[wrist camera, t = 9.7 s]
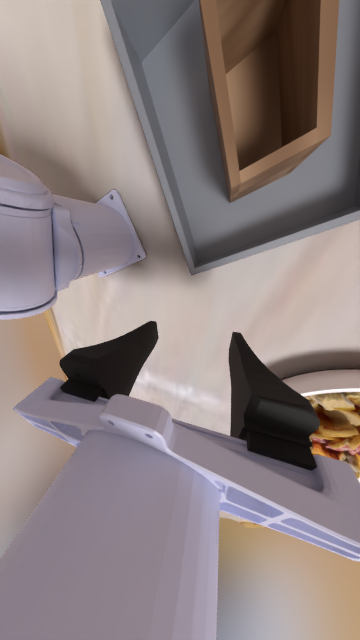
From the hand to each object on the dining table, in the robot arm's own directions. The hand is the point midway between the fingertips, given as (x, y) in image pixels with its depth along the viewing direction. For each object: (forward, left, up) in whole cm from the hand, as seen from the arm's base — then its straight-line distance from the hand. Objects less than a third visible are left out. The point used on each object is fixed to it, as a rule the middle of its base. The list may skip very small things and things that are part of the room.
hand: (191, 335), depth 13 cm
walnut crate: (+8, +13, -9) cm, 18 cm away
